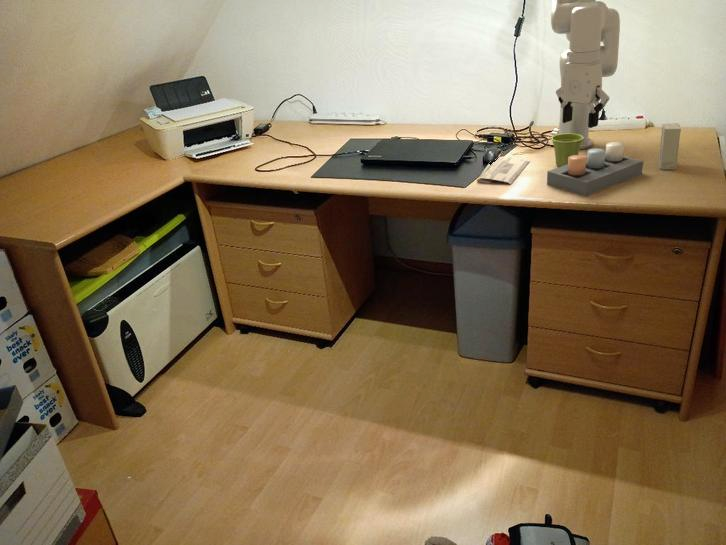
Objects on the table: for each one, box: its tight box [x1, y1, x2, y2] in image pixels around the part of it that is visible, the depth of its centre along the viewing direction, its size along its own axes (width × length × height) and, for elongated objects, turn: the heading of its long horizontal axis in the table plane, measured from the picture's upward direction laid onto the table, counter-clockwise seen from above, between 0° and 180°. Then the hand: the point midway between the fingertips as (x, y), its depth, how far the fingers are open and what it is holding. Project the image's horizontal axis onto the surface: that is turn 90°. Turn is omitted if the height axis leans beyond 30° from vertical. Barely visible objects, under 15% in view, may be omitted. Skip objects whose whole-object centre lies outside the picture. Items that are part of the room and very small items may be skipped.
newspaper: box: [476, 156, 530, 185], centre depth 192 cm, size 23×12×2 cm, turn 152°
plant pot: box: [551, 133, 584, 167], centre depth 190 cm, size 9×9×9 cm
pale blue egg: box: [586, 148, 606, 168], centre depth 175 cm, size 5×5×4 cm
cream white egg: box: [605, 141, 625, 161], centre depth 178 cm, size 5×5×4 cm
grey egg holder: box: [546, 152, 644, 197], centre depth 177 cm, size 14×24×4 cm, turn 122°
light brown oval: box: [567, 154, 587, 175], centre depth 171 cm, size 5×5×4 cm
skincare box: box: [658, 122, 682, 170], centre depth 178 cm, size 6×4×12 cm
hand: (579, 123), depth 166 cm, fingers open, 8 cm apart
